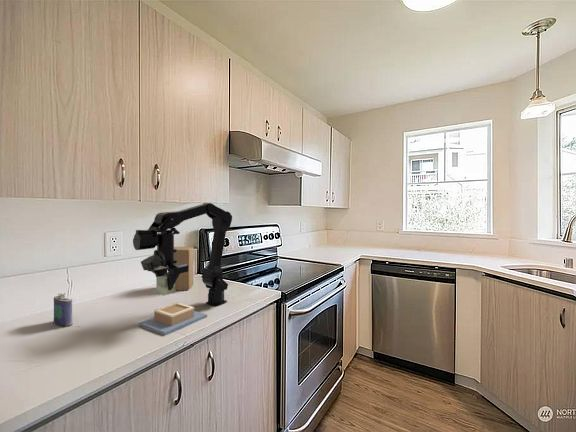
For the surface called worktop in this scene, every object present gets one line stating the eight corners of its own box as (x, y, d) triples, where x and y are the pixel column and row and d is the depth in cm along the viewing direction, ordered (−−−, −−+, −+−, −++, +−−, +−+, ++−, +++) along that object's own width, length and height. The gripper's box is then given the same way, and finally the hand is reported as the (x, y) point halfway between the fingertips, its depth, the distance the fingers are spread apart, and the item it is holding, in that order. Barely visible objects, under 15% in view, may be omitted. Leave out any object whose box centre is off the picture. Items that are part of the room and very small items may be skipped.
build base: (182, 309, 115) (181, 298, 115) (207, 316, 108) (207, 304, 107) (139, 325, 99) (138, 312, 99) (165, 335, 92) (165, 321, 92)
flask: (74, 324, 99) (73, 294, 99) (64, 328, 97) (63, 296, 96) (60, 319, 104) (59, 290, 103) (50, 322, 101) (49, 292, 101)
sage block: (167, 290, 109) (167, 274, 108) (175, 292, 106) (174, 276, 106) (156, 293, 105) (156, 277, 105) (164, 295, 102) (164, 278, 102)
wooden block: (174, 285, 149) (173, 246, 148) (193, 284, 150) (193, 246, 149) (167, 290, 139) (167, 249, 138) (189, 290, 140) (189, 249, 139)
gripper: (129, 247, 103) (129, 290, 104) (161, 252, 93) (161, 300, 94) (157, 243, 112) (158, 283, 113) (189, 248, 102) (189, 291, 103)
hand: (165, 289), depth 105 cm, fingers closed on sage block, 4 cm apart
